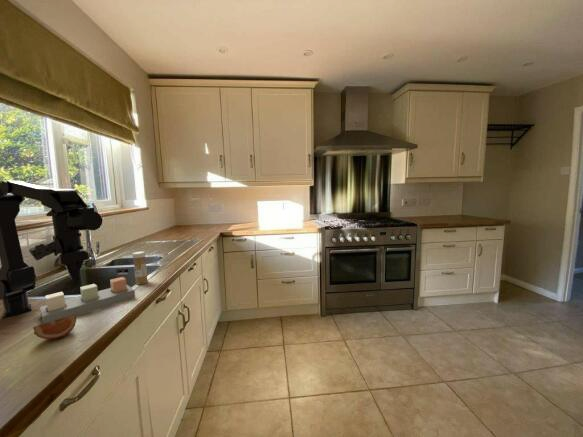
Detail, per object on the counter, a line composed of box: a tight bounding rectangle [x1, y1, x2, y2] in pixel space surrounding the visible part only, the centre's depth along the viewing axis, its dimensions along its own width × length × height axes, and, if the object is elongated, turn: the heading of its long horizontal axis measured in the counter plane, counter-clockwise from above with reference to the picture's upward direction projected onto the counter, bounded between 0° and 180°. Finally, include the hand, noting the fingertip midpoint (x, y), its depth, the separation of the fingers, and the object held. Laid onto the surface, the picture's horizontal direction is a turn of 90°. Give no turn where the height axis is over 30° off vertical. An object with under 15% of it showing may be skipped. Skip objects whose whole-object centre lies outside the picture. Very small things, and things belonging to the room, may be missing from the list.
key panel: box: [39, 284, 136, 324], centre depth 86 cm, size 10×24×3 cm, turn 138°
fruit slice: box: [32, 314, 77, 340], centre depth 67 cm, size 8×7×5 cm
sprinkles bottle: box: [132, 251, 148, 285], centre depth 106 cm, size 5×5×14 cm
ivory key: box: [44, 291, 66, 312], centre depth 79 cm, size 4×4×5 cm
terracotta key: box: [109, 276, 128, 293], centre depth 91 cm, size 4×4×5 cm
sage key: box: [79, 283, 99, 302], centre depth 85 cm, size 4×4×5 cm
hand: (74, 279), depth 77 cm, fingers closed
